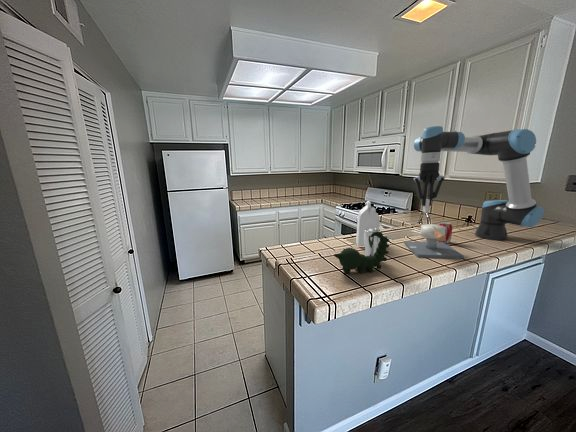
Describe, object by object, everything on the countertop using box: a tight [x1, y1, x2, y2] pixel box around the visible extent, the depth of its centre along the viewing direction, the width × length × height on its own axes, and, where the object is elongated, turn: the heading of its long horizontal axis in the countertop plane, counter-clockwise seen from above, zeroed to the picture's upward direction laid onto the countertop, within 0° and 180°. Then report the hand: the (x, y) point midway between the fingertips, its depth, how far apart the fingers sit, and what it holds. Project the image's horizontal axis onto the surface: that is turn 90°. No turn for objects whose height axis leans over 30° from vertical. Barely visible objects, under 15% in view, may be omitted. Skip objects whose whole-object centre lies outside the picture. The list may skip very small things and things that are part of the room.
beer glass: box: [364, 228, 380, 256], centre depth 113 cm, size 7×7×15 cm
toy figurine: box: [333, 231, 391, 274], centre depth 100 cm, size 9×19×25 cm
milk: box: [355, 200, 380, 247], centre depth 133 cm, size 12×12×26 cm
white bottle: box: [419, 223, 446, 242], centre depth 116 cm, size 22×11×5 cm, turn 162°
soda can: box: [437, 221, 453, 245], centre depth 134 cm, size 7×7×12 cm
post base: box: [403, 237, 465, 260], centre depth 122 cm, size 21×21×8 cm
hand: (425, 212), depth 109 cm, fingers closed
